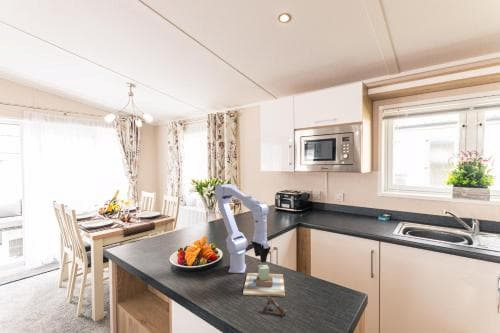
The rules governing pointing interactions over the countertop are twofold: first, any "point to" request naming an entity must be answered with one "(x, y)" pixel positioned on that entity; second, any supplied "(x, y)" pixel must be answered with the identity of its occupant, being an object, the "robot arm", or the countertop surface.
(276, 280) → the build board
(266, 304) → the brown triangle frame
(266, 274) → the green block
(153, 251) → the countertop surface
